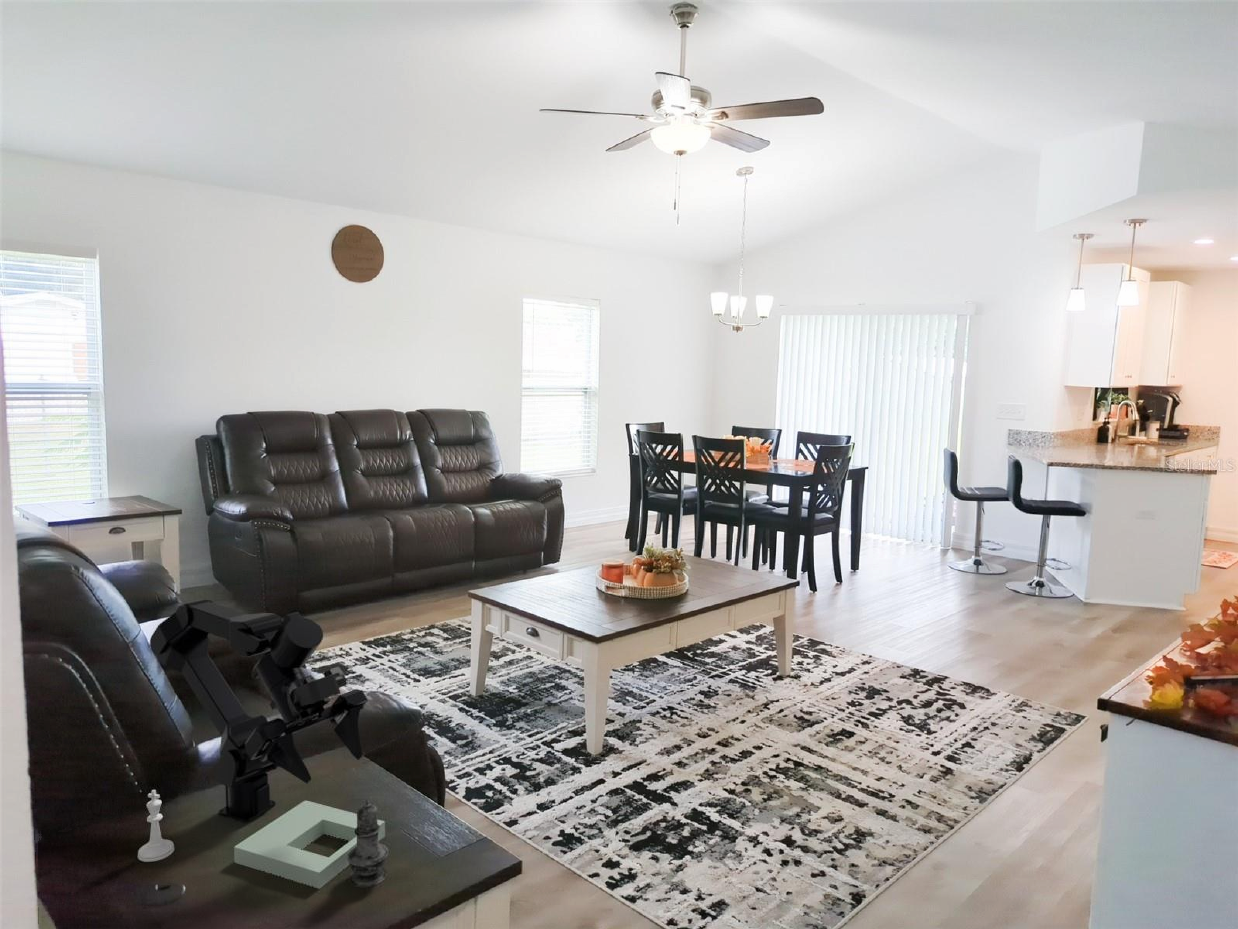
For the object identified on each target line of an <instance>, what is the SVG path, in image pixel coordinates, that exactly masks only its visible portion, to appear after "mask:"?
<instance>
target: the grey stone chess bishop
mask: <svg viewBox="0 0 1238 929" xmlns="http://www.w3.org/2000/svg"><path fill="white" fill-rule="evenodd" d="M356 814H357V827H356V829H355V831H354V832H355V834H356V835H357V846H356V847H354V848H353V849H351V850H350V851H349V853H348V854H347V861H348V862H349V864H350V865H349V867H350V869H351V871H352V872H351V874H350V875H349V877H348V879H349V883H350V884H351V885H352V886H353V887H355V888H363V889H365V888H370V887H371V888H372V887H375V886H377V885H380V884H381V883H383V881H385V879H386V878H387V870H386V869H385V868H384V866H385V863H386V861H387V857H388V855H389V848H388V847H387V846H386V845H385V844H382V843H380V841H378V832H379V830H380V826H379V825H378V822H377V819H378V808H377V806H376V805H375V804H373V803H370V800H369V799H368V798H367V799H366V800H365V801H364V804H362V805H361V806H359V807H358V809H357V811H356Z"/></svg>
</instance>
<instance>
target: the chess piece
mask: <svg viewBox="0 0 1238 929" xmlns="http://www.w3.org/2000/svg"><path fill="white" fill-rule="evenodd" d="M147 798H150V799H151V800H150V801H148V802H147V803H146V809H147V810H148V812H149V814H150V815H148V816H147V818H146V821H147V822H148V823H151V824H150V835H149V841H148V842H147V843H145V844H144V845H142V846H141V847H140V848H139V849H138V851H137V859H138V860H139V861H142V862H144V863H145V862H146V863H147V862H157V861H160V860H163V859H166V858H167V857H170V856H171V854H173V852H174V851H175V845H174V842H173V841H172V840H169V839H164V838H162V833H161V828H160V823H159V822H160V821H161V820H162V819H163V817H164V816H163V814H162V813H159V812H160V810H161V807H162V803H163V802H162V800H161V799H159V798H161V796H160V794H158V793H157V790H156V789H152V790H151V793H150V792H149V793H148V794H147Z"/></svg>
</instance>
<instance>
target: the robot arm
mask: <svg viewBox="0 0 1238 929" xmlns="http://www.w3.org/2000/svg"><path fill="white" fill-rule="evenodd" d="M210 635H213V636H215V637H218V638H221V639H223V640H225V641H226V640H227V641H228V642H229V648H230V650H232V651H234V652H235V653H236V654H238V655H239V656H240V657H242V658H249V657H252V656H256V655H259V654H263V653H264V654H263V655H261V657H260V659H257V660H255V661H253V669H252V671H251V678H252V680H255V679H259V678H260V679H261V682H262V683H263V685H264V687H265V688H266V690H267V692H268V694H269V696H270V697H271V699H272V701H271V702H270V703H269V706H270V708H271V710H272V711H273V710H277V711H278V712H279V714H280V716H281V718H282V719H281V718H279V717H276V718H274V719H272V720H268V719H267V717H265V715H263V714H261V715H257V716H255V717H252V716H251V715H248V714H249V713H247V711H246V710H245V709H244V707H243V705H242V704H241V702H240V701H239V699H238V697H237V696H236V694H234V692H233V690H232V688H231V687H230V686H229V684H228V683H227V681H226V680H225V678H224V677H223V675H222V674H221V672H220V670H219V669H218V667H217V666H216V664H215V663H214V661H213V660H212V658H211V657H210V654H209V649H210ZM323 639H324V632H323V629H322V627H321V625H320V624H318V623H317V622H316V621H314V620H313V619H310V618H307V617H302V616H301V614H300V613H299V611H296V612H293V613H288V614H286V615H285V617H284V619H282V617H281V616H280V615H278V614H277V613H271V612H270V613H269V612H259V613H251V614H250V613H248V614H246V613H243V612H242V611H241V612H240V611H238V610H234V609H232V608H229V607H226V606H223V605H220V604H217V603H214V602H213V601H212V600H211V599H206V598H202V599H198V600H193V601H189V602H184V603H183V604H181V605H179V606H178V608H176V610H175V612H174V613H172V614H171V615H170V616H168V617H167V618H166V619H164V620H163V621H162V622H161V623H159V624H158V625H157V627H156V628H155V630H154V631H153V633H152V634H151V636H150V640H149V645H150V648H151V649H150V650H151V651H152V653H153V654H154V655H155V656H156V657H157V659H159V661H160V662H161V663H162V664H163V666H165V667H166V668H169V669H172V670H174V671H177V672H178V673H181V674H182V676H183V677H184V679H185V680H186V682H187V684H188V686H190V688H191V690H192V692H193V693H194V695H195V696H196V698H197V699H198V701H199V703H200V704H201V706H202V707H203V709H204V711H205V712H206V714H207V715H208V717H209V719H210V720H211V722H212V723H213V725H214V726H215V728H216V729H217V732H218V733H219V735H220V737H221V739H220V746H219V747H220V748H219V755H220V758H219V760H218V761H217V762H216V763H214V766H213V767H212V772H213V776H214V780H215V781H216V782H218V783H219V784H221V785H223V786H225V787H224V788H225V806H224V807H222V808H221V809H219V810H218V812H217V813H218V815H220V816H223V817H225V818H230V819H234V820H237V821H241V822H244V823H248V822H251V821H252V820H254V819H255V818H257V817H258V816H260V815H262V814H263V813H265V812H266V811H268V810H270V809H271V808H273V807H274V806H275V805H276V804H277V803H276V801H275V800H274V799H273V800H272V799H271V797H270V796H271V795H270V789H271V788H270V783H269V774H268V773H269V772H271V771H275V770H277V769H278V767H279V768H281V769H283V770H285V771H286V772H288V773H289V774H291V775H293V776H294V777H296V778H297V779H299V780H300V781H302V782H304V783H306V784H309V783H310V782H311V781H312V777H311V773H310V772H309V770H308V768H307V766H306V765H305V762H304V761H303V759H302V757H301V755H300V754H299V752H298V750H297V749H296V746H295V743H294V736H293V735H295V734H297V733H298V734H299V733H300V732H303V731H306V730H308V729H311V728H313V727H315V726H319V725H320V724H323V723H325V722H328V721H330V723H331V724H332V725H335V727H334V729H333V731H334V732H335V734H336V735H337V736H338V738H339V739H340V740H341V741H342V744H344V745H345V747H346V749H348V751H349V752H350V754H351V755H352V756H353V757H354V758H355V759H356V760H357V761H359V760H361V759H362V758H363V749H362V743H361V738H360V730H359V718H360V715H361V713H362V712H363V711H364V710H365V708H364V707H365V706H366V704H367V703H368V702H369V698H368V697H367V695H366V694H365V692H364V691H363V690H362V689H359V688H358V689H357V688H356V689H355V688H354V689H353V690H350V691H347V692H345V693H341V690H340V688H343V687H345V686H346V685H347V678H346V675H345V673H344V672H343V670H342V669H341V668H340V666H335V667H333V668H329V669H328V670H325V671H324V673H323V674H324V677H323V676H322V677H320V678H317V679H316V678H315V677H314V676H312V675H311V674H310V675H307V676H306V674H305V673H304V671H303V669H302V667H303V666H305V665H306V663H308V662H309V659H310V658H311V657H312V655H313V654H314V653H315V651H316V650H317V649H318V648H319V646H320V644H321V643H322V641H323ZM337 695H338V697H337V698H336V699H335V700H334V702H333V703H332V704H331V706H328V707H325V708H324V706H325V705H326V706H327V704H329V702H330V701H331V699H330V697H332V696H337Z"/></svg>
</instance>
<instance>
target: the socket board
mask: <svg viewBox="0 0 1238 929" xmlns="http://www.w3.org/2000/svg"><path fill="white" fill-rule="evenodd" d="M377 822H378V825H379V826H380V830H379V832H378V842H380V841H382V839H384V838H385V837H386V821H384V820H382V819H378V818H377ZM356 827H357V813H354V812H351V811H347V810H345V809H344V810H343V809H340V808H335V807H333V806H328V805H324V804H320V803H318V802H313V801H309V800H304V801H302V802H300V803H298V804H297V805H295V807H293V808H291V809H290V810H288V811H286V812H285V813H284V814H282V815H281V816H279V817H278V818H277V819H275V820H272V822H270V823H268V824H267V825H265V826H264V827H262V828H261V829H259V830H258V831H255V833H253V834H251V835H250V836H248V837H247V838H245V839H244V840H243V841H241V842H239V843H238V844H236V845H235V846H233V852H234V854H233V856H234V863H235V864H238V865H241V866H245V867H248V868H251V869H254V870H258V871H260V870H261V871H260V872H263V871H265V872H264V873H266V874H270V873H272V874H271V875H273V874H274V875H273V876H276V875H277V876H276V877H279V876H281V877H280V878H283V877H284V878H283V879H286V880H289V879H290V880H289V881H292V880H293V882H295V883H298V884H302V883H303V884H302V885H305V884H306V886H308V885H309V886H310V887H312V886H313V887H312V888H315V889H319V890H320V889H321V888H322V887H324V886H326V885H327V884H328V883H329V882H330V881H331V880H333V879H334V878H335V877H336V876H338V875H339V874H340V873H341V872H342V871H344V870H345V869H346V868H347V867H350V864H349V862H348V861H347V854H348V853H349V851H350V850H351V849H353V848H354V847H356V846H357V835H356V834H355V832H354V831H355V829H356ZM325 834H326V836H328V835H330V836H329V837H332V836H333V837H332V838H335V837H336V839H339V838H341V839H340V840H342V839H345V840H344V841H346V840H348V841H347V843H346V844H344V845H343V846H342V847H341V848H339V849H338V850H337V851H335V852H334V853H333V854H331V855H330V856H329V857H328V856H324V855H322V854H319V853H314V852H311V851H308V850H305V848H306V847H308V846H309V845H310V844H312V843H313V842H315V841H317V839H318V838H320V837H321V836H323V835H325ZM311 842H312V843H311ZM307 845H308V846H307ZM301 849H302V850H301ZM343 869H344V870H343ZM338 873H339V874H338ZM309 886H308V887H309Z"/></svg>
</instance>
